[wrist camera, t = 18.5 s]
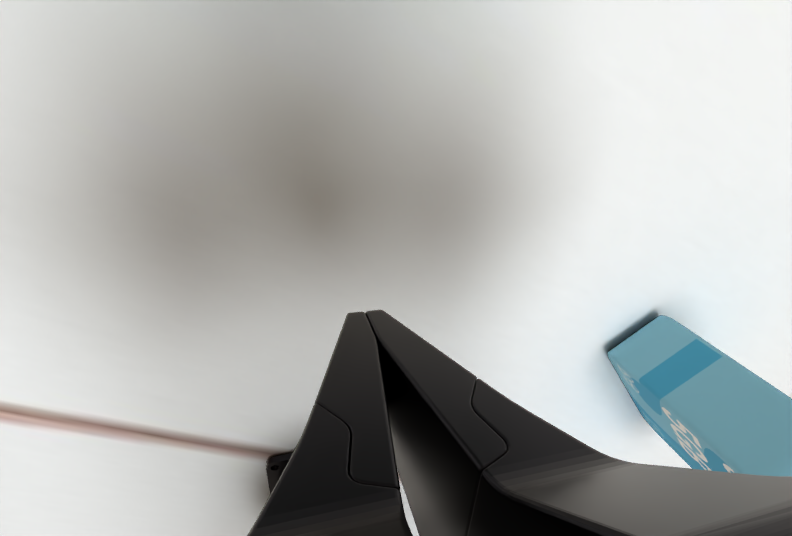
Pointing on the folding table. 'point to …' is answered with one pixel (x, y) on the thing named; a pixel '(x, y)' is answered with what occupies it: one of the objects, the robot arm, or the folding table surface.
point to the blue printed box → (705, 401)
